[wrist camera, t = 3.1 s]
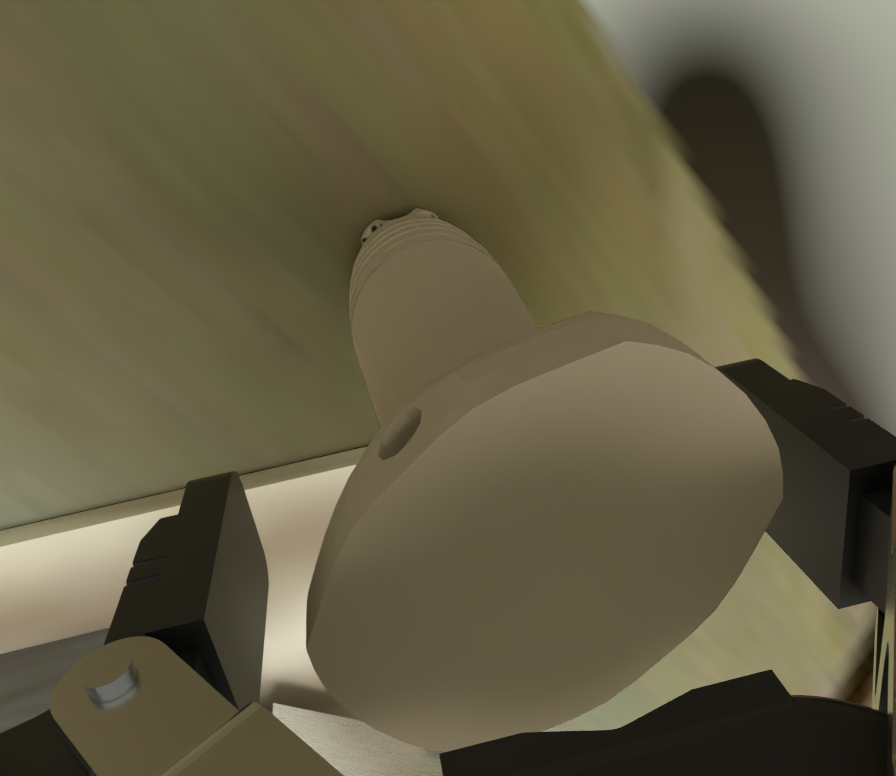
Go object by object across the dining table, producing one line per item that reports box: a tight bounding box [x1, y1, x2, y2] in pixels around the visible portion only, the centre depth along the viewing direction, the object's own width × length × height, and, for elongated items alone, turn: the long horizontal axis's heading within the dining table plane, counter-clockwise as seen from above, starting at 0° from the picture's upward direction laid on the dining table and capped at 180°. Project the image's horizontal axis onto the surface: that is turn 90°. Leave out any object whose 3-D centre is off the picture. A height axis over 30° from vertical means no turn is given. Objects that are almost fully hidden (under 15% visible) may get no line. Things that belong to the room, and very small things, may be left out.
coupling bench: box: [0, 447, 367, 733], centre depth 26 cm, size 18×26×5 cm
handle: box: [306, 208, 783, 752], centre depth 16 cm, size 5×6×15 cm
